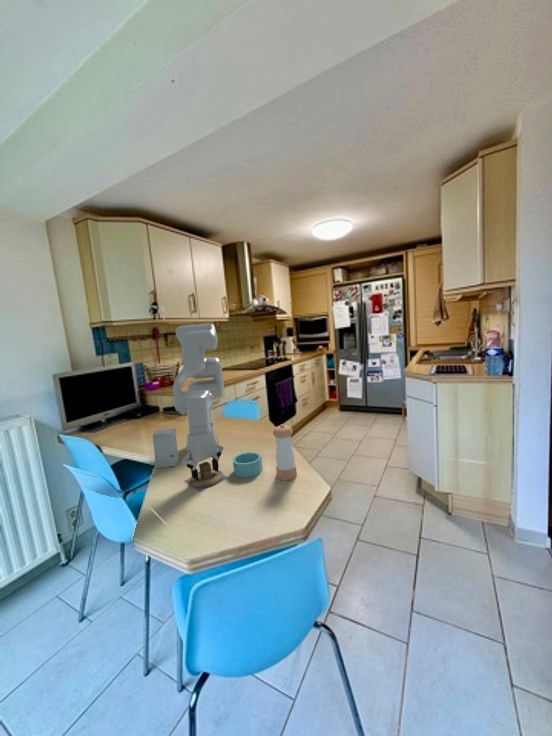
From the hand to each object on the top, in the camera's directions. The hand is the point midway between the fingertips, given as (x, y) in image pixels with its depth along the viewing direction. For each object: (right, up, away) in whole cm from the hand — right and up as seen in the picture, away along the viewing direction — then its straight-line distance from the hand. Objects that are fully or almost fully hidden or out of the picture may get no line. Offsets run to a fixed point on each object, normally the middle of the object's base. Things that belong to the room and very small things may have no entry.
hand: (205, 474), depth 112 cm
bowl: (+15, 0, +4) cm, 16 cm away
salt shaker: (+30, 0, -1) cm, 30 cm away
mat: (0, -2, 0) cm, 2 cm away
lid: (0, -2, 0) cm, 2 cm away
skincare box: (-20, -2, +18) cm, 27 cm away
